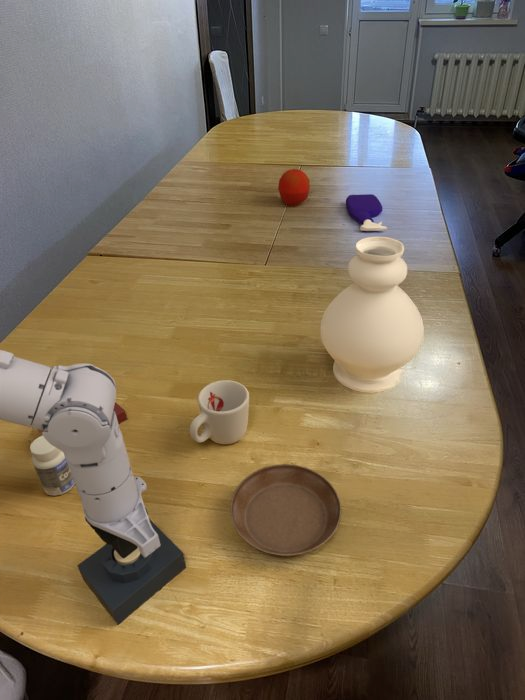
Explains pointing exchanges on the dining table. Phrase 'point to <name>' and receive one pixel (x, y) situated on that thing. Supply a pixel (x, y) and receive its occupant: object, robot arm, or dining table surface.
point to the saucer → (285, 509)
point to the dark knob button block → (131, 576)
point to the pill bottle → (51, 467)
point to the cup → (222, 412)
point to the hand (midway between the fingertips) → (127, 550)
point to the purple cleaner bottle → (365, 211)
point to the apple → (294, 187)
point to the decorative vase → (373, 320)
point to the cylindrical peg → (129, 558)
